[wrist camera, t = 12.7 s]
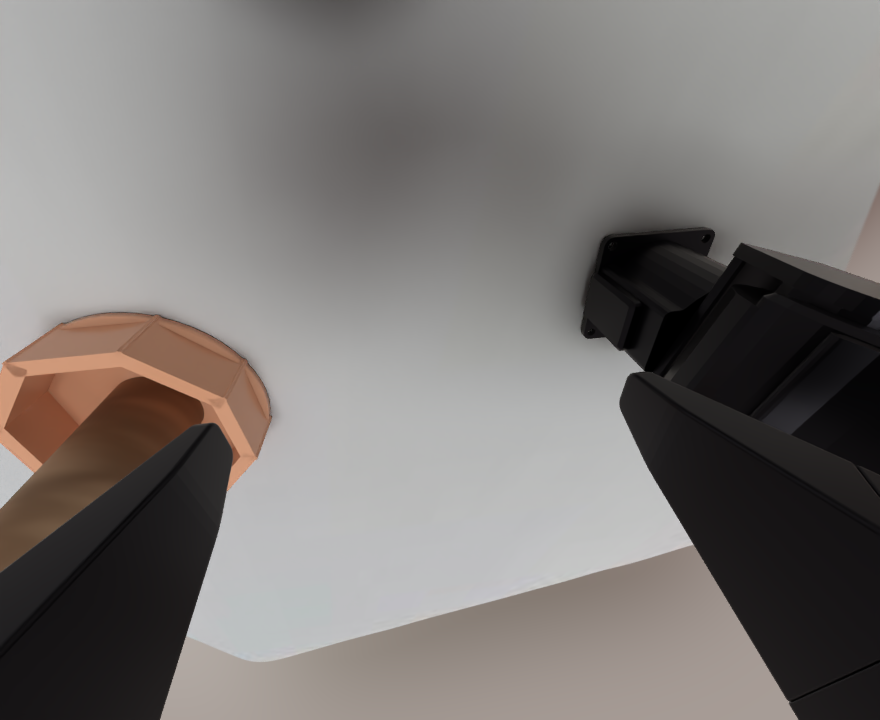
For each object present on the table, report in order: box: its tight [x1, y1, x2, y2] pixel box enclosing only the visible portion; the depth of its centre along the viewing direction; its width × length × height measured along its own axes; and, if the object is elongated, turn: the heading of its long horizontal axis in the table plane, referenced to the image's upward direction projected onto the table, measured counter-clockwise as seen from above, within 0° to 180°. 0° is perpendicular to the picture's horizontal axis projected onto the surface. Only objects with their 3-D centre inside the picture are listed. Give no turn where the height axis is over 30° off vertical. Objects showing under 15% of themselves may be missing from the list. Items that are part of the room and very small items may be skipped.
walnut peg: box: [0, 376, 204, 572], centre depth 17 cm, size 5×5×13 cm
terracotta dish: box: [0, 313, 272, 491], centre depth 21 cm, size 12×12×4 cm
